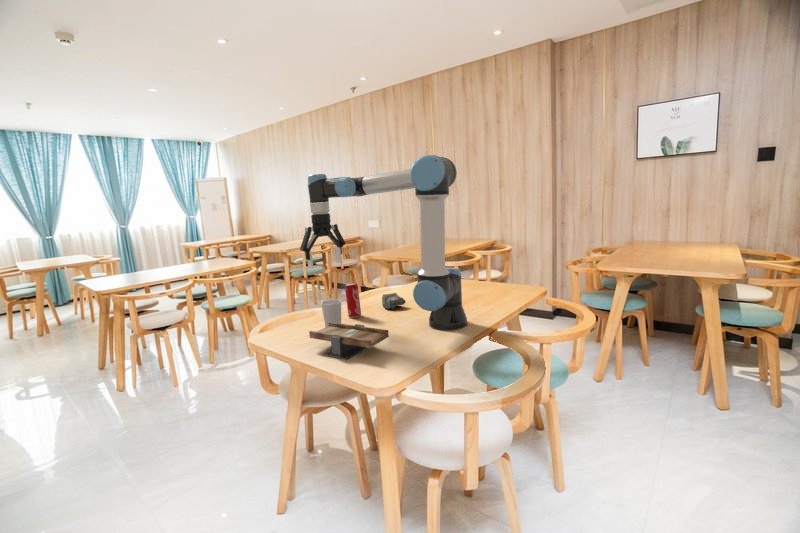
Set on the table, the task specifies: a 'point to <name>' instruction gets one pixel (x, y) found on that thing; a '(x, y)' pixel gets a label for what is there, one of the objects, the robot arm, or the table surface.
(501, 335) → the table surface
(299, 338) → the table surface
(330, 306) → the cup
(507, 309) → the table surface
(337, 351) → the pivot stand
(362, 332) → the beam
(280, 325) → the table surface
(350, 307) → the beverage can
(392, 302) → the rock
